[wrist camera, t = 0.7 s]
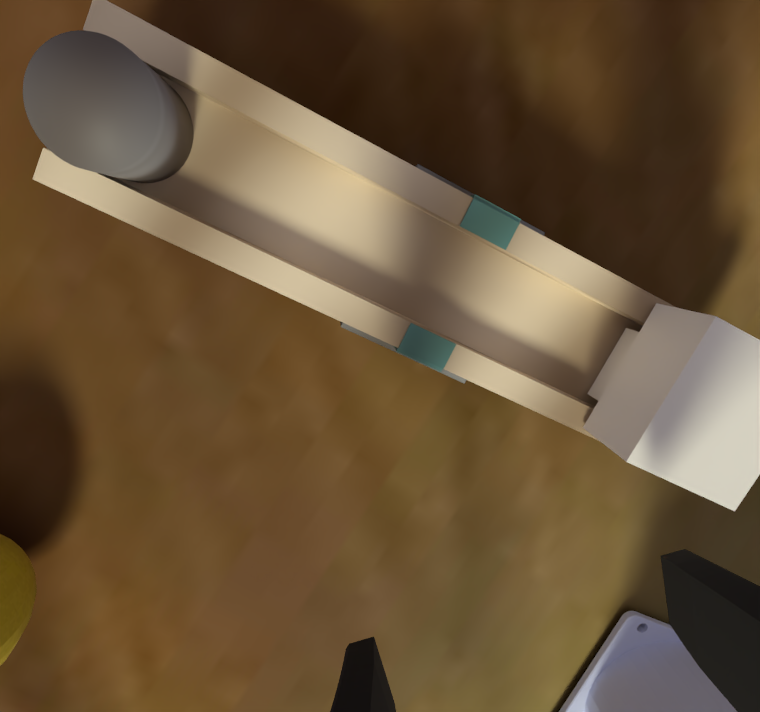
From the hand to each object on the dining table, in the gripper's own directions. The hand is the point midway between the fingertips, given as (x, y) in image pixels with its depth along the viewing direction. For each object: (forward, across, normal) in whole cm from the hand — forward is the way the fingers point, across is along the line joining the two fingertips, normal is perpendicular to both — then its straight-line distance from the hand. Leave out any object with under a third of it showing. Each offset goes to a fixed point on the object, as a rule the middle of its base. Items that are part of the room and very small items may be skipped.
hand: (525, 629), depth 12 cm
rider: (+6, -7, -2) cm, 10 cm away
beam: (+10, -1, -8) cm, 13 cm away
